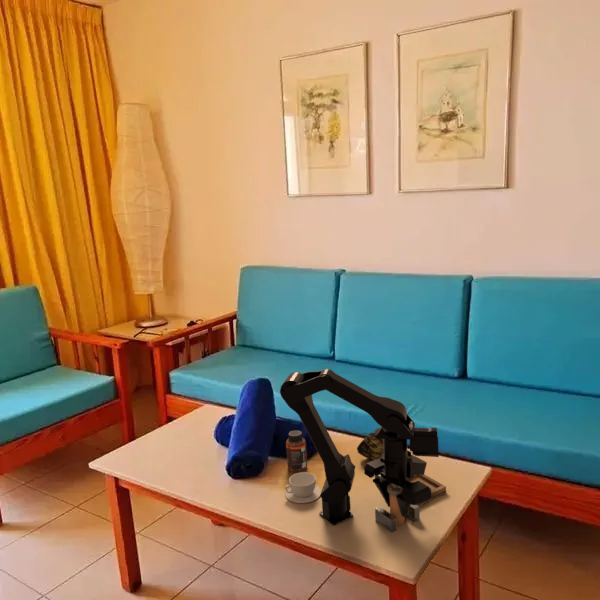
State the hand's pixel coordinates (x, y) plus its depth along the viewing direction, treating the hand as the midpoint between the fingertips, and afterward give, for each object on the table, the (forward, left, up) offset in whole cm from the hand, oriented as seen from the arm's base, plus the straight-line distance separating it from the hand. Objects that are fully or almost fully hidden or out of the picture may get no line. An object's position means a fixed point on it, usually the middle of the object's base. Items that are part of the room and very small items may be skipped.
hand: (397, 511), depth 139 cm
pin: (0, 0, -2) cm, 2 cm away
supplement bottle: (-6, +38, -3) cm, 39 cm away
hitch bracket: (0, 0, -2) cm, 2 cm away
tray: (+13, +7, -2) cm, 15 cm away
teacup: (-12, +25, -3) cm, 28 cm away
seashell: (+17, +27, -3) cm, 32 cm away
